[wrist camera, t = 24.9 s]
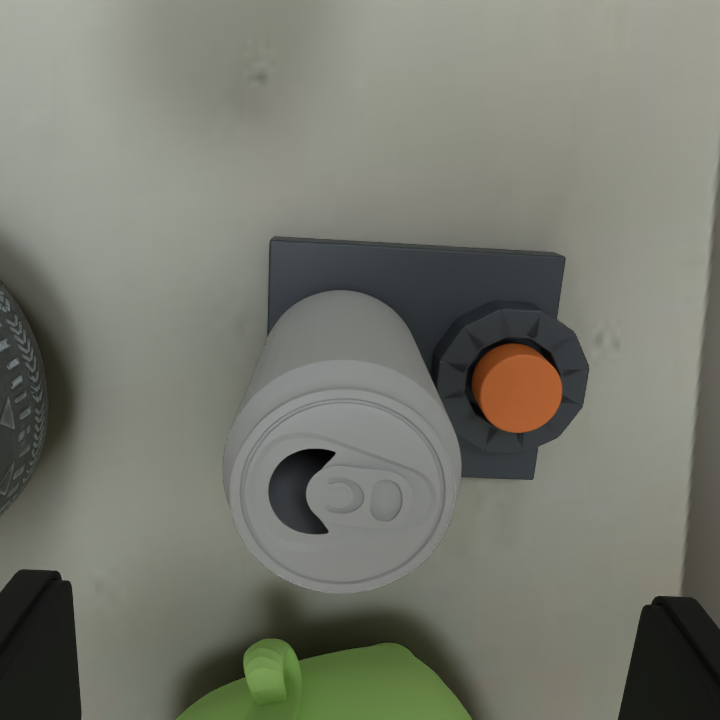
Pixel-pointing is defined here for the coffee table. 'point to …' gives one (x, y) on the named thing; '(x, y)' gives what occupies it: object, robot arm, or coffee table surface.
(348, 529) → the beverage can
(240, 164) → the coffee table surface
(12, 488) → the planter
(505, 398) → the button
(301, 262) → the button base
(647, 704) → the robot arm
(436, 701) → the teapot
